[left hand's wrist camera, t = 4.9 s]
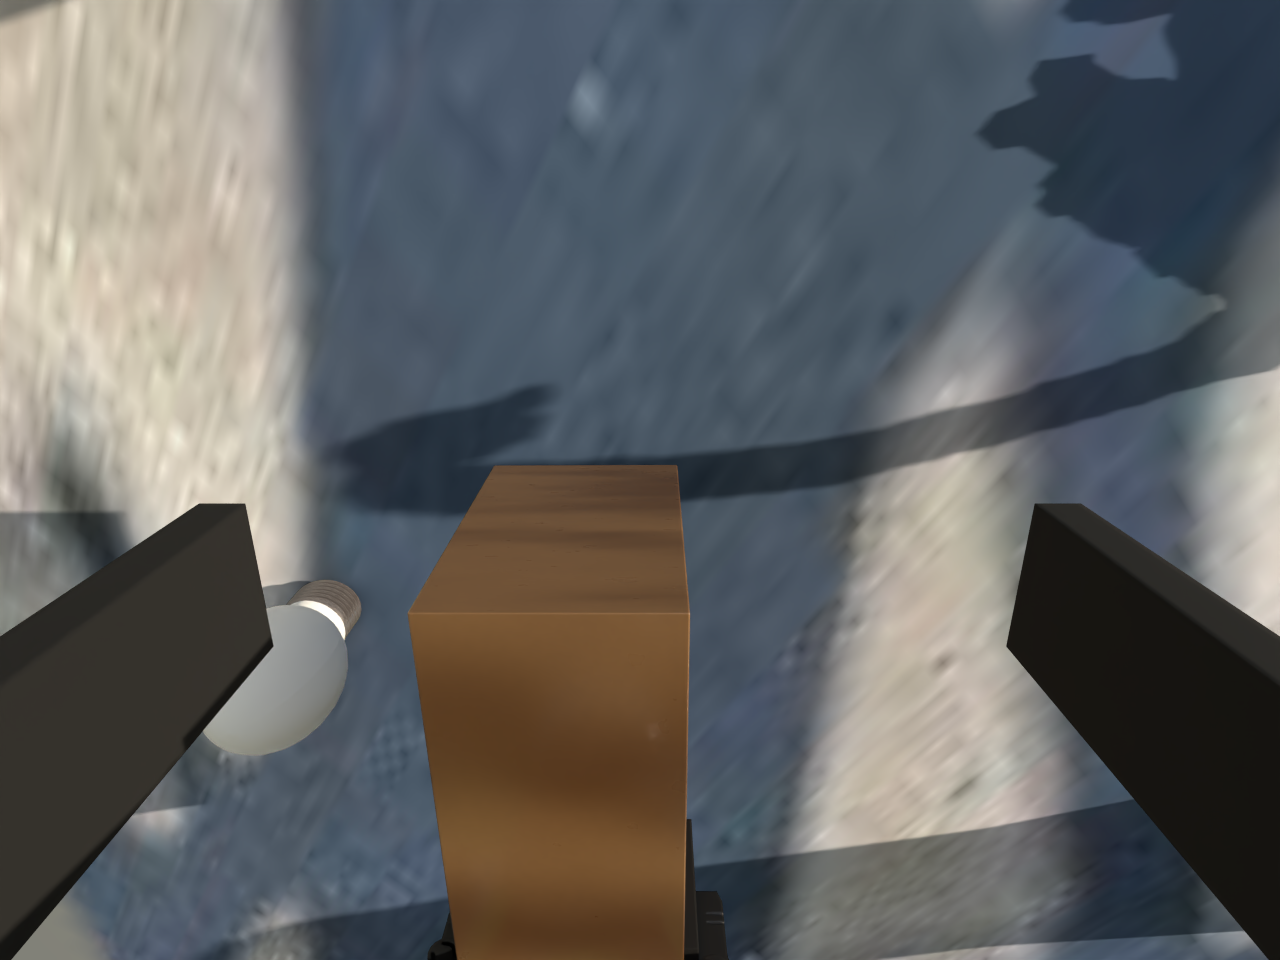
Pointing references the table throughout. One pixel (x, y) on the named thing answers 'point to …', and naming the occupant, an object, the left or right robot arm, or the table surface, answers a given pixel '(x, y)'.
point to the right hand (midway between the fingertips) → (594, 840)
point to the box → (561, 714)
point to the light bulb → (292, 673)
